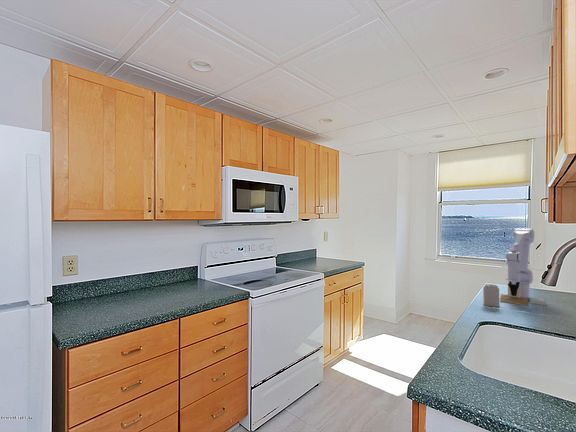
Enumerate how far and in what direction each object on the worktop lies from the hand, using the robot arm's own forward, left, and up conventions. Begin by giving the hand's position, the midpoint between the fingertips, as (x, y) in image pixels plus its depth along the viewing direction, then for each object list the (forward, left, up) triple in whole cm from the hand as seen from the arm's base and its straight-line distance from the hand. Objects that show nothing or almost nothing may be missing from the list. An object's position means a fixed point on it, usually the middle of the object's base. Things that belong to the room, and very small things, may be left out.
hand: (514, 294), depth 184 cm
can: (+22, -10, -4) cm, 25 cm away
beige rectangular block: (0, 0, -3) cm, 3 cm away
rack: (+3, 0, -4) cm, 5 cm away
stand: (0, +11, -4) cm, 12 cm away
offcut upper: (+5, 0, -2) cm, 6 cm away
